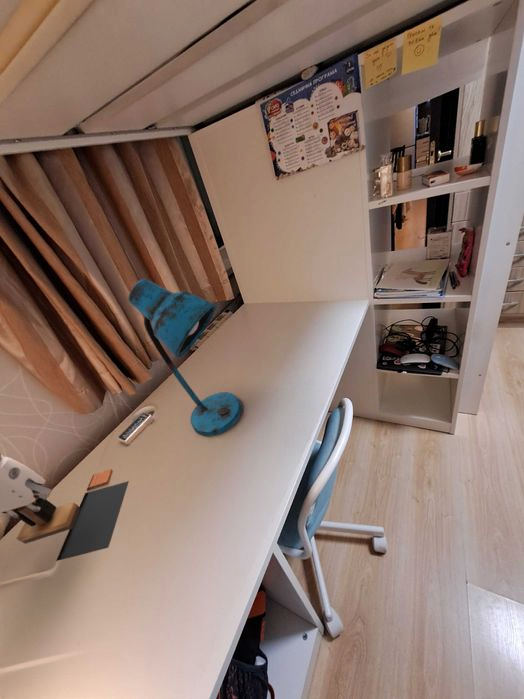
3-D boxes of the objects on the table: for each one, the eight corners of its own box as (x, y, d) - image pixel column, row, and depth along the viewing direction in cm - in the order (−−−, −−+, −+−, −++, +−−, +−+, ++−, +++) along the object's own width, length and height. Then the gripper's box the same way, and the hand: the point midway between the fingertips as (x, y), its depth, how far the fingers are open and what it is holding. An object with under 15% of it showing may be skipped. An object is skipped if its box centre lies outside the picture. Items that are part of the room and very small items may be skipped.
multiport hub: (120, 442, 91) (116, 437, 90) (146, 416, 98) (143, 411, 97) (128, 446, 89) (124, 441, 87) (154, 419, 96) (151, 414, 94)
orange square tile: (96, 488, 79) (93, 486, 78) (100, 475, 82) (97, 473, 81) (109, 484, 78) (106, 481, 78) (113, 471, 82) (111, 468, 81)
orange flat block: (81, 493, 79) (78, 490, 78) (87, 480, 82) (84, 477, 81) (95, 489, 79) (92, 486, 78) (100, 476, 82) (97, 473, 81)
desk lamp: (242, 443, 78) (167, 291, 53) (180, 431, 88) (93, 299, 63) (264, 399, 89) (210, 258, 64) (207, 393, 99) (142, 269, 74)
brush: (24, 544, 61) (-9, 524, 57) (35, 522, 65) (5, 502, 60) (73, 528, 61) (43, 507, 56) (81, 507, 65) (54, 486, 60)
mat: (28, 569, 65) (26, 568, 65) (61, 500, 78) (60, 499, 78) (109, 548, 64) (108, 547, 64) (130, 482, 77) (128, 480, 77)
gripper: (27, 439, 54) (86, 490, 64) (-49, 461, 55) (21, 509, 65) (1, 475, 48) (71, 526, 58) (-84, 499, 49) (-1, 545, 59)
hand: (44, 516), depth 62 cm, fingers closed on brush, 2 cm apart
